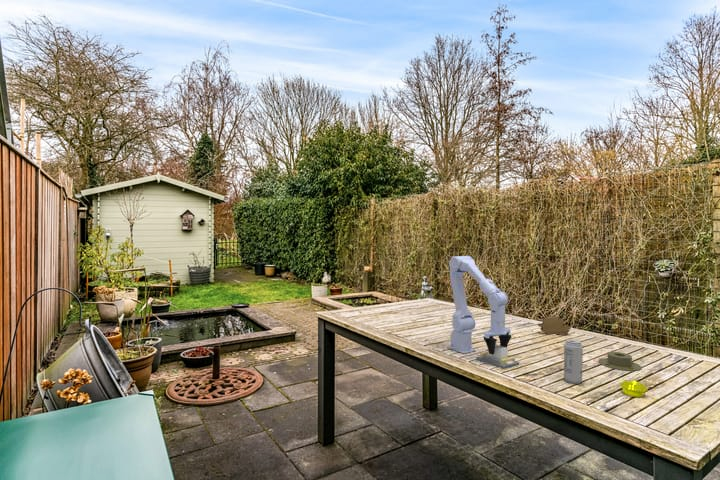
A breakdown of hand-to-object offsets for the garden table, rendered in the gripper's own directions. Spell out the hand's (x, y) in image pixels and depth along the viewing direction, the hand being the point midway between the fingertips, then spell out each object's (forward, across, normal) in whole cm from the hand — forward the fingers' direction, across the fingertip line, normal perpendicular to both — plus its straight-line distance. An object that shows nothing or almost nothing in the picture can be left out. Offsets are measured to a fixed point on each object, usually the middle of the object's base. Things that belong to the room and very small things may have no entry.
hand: (497, 352), depth 166 cm
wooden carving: (+4, +64, +14) cm, 66 cm away
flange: (+5, +41, -29) cm, 50 cm away
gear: (+4, +13, -46) cm, 48 cm away
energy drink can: (+4, +6, -29) cm, 30 cm away
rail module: (+2, 0, 0) cm, 2 cm away
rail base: (+4, 0, 0) cm, 4 cm away
